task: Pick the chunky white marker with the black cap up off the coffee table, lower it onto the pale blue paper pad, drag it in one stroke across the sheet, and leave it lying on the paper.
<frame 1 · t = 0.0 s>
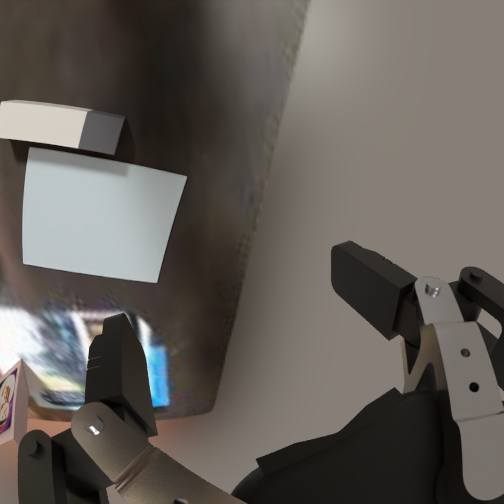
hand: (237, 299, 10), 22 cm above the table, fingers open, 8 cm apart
paper pad: (94, 220, 27), on the table
marker: (60, 121, 21), on the table
greeting card: (21, 376, 33), on the table
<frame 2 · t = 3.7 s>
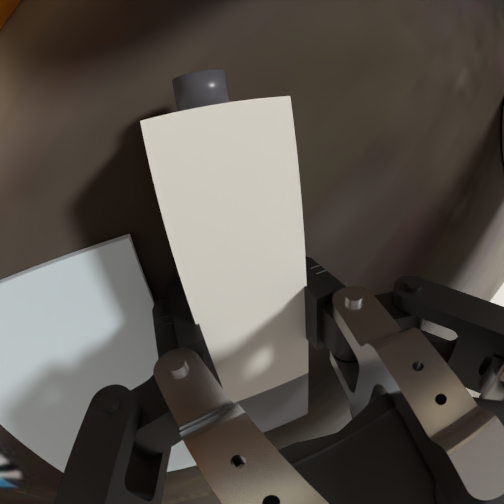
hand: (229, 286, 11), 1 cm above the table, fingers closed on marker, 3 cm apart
paper pad: (83, 417, 12), on the table
marker: (226, 279, 11), on the table, touching gripper
when the fingers open (2 cm above the table, at t = 10.5 s): marker drops 1 cm, resting on paper pad.
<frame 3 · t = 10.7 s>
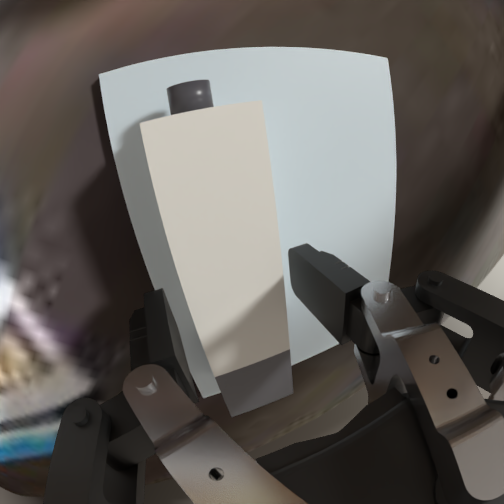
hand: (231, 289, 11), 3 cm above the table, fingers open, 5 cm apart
paper pad: (292, 235, 14), on the table
marker: (215, 263, 13), resting on paper pad
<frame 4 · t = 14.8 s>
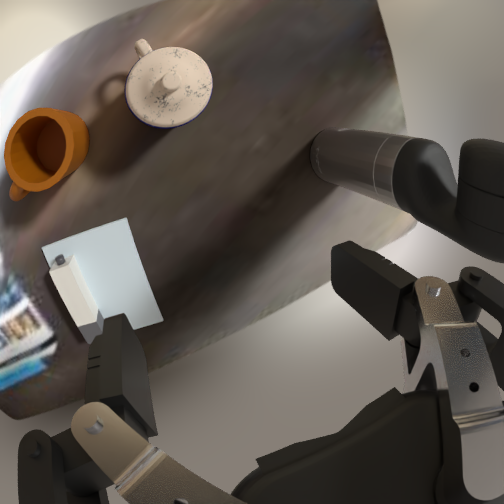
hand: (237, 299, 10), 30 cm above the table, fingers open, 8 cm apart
mug: (52, 152, 28), on the table
paper pad: (103, 286, 38), on the table
marker: (80, 294, 37), resting on paper pad
teacup with lid: (158, 88, 30), on the table
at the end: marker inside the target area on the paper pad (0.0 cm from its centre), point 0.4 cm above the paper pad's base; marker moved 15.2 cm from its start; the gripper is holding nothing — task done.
